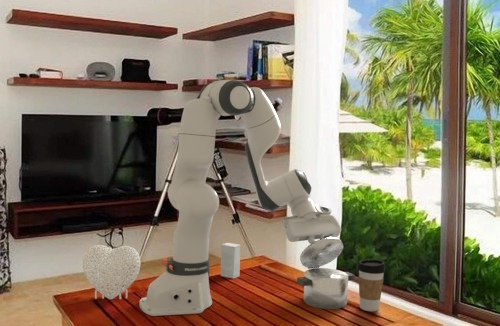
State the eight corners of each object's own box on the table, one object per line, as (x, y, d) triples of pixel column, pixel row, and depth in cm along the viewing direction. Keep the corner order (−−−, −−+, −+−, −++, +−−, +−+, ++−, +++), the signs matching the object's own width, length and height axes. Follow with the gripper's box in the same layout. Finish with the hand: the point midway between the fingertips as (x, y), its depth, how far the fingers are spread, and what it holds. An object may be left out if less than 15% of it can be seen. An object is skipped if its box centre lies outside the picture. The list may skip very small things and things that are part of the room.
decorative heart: (143, 294, 167) (144, 242, 166) (135, 305, 156) (136, 250, 155) (88, 292, 167) (88, 240, 165) (77, 303, 156) (77, 248, 155)
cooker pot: (310, 312, 156) (312, 283, 155) (288, 297, 168) (289, 271, 168) (362, 304, 164) (364, 277, 163) (337, 291, 177) (339, 265, 176)
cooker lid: (311, 241, 160) (308, 235, 161) (294, 271, 169) (291, 264, 171) (350, 238, 166) (347, 232, 168) (331, 267, 176) (328, 261, 177)
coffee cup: (385, 313, 157) (388, 265, 156) (358, 312, 157) (360, 264, 156) (379, 303, 165) (382, 258, 164) (353, 302, 166) (355, 257, 164)
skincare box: (239, 276, 190) (240, 244, 189) (233, 279, 186) (234, 246, 185) (226, 273, 193) (227, 242, 192) (219, 275, 189) (220, 244, 188)
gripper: (283, 211, 171) (298, 246, 163) (334, 207, 180) (350, 240, 172) (277, 222, 176) (291, 257, 167) (326, 218, 184) (342, 250, 176)
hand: (321, 248), depth 170 cm, fingers closed
